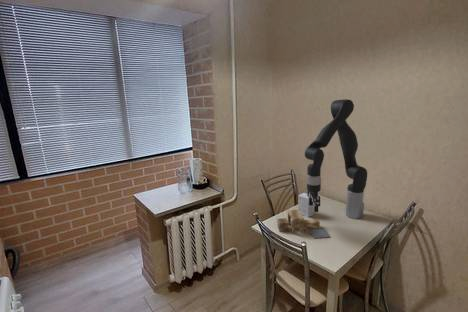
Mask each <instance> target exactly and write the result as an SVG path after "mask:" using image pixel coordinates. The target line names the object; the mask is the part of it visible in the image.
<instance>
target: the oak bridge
mask: <svg viewBox="0 0 468 312" xmlns="http://www.w3.org/2000/svg"><path fill="white" fill-rule="evenodd" d="M287 220H288V222H289V226H291V221H292V228H291V233H292V234H293V235H294V234H295V235H296V230H295V221H301V226H300V230H299V233H300V234H304V233H305V231H304V230H305V229H304V220H305V217H304V215H302V214H301V213H300V211H299V210H298V209H289V210H287Z"/></svg>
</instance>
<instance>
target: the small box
mask: <svg viewBox="0 0 468 312" xmlns="http://www.w3.org/2000/svg"><path fill="white" fill-rule="evenodd" d="M297 200H298V205H297V210H299V211H300V213H301V214H302V216H303V217H307V218H309V217H311V216H313V215H315V214H314V213H315V212H314V203H313V205H311V206H310V205H309V199H308V197H307V193H306V192H303V193H300V194H298V199H297Z"/></svg>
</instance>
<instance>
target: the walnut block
mask: <svg viewBox="0 0 468 312" xmlns="http://www.w3.org/2000/svg"><path fill="white" fill-rule="evenodd" d="M276 225H277V229H278V232H279V233H281V232H289V231H290V230H289V229H290V225H289V222H288V217H284V218H277V223H276Z"/></svg>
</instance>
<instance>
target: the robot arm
mask: <svg viewBox="0 0 468 312" xmlns="http://www.w3.org/2000/svg"><path fill="white" fill-rule="evenodd" d="M354 109H355V105H354V102H353V100H351V99H346V98H345V99H344V98H343V99H335V100H333V101H332V102H331V104H330V112H331V116H332V118H333V119H332V120H331V121H330V122H329V123H327V124H326V125H325V126H324V127H323V128H321V130H320V131H319V133H318V135H317V137H316V138H315V140H313V141H312V142H311V143H310V144H309V145H307V147H306V148H305V151H304V157H305V159H306V160H310V161H312V163H309V164H308V165H307V168H306V169H307V172H306V173H307V174H306V175H307V177H306V190H307V193H306V194H307V197H308V199H309V205H310V206H311V205H313V203H314V213H318V212H319V207H321V195H319V192H320V191H321V189H322V187H321V186H322V183H321V182H322V178H321V171H322V170H321V169H322V165H323V162H324V158H325V152H324V151H323V150H322V149H323V148H326V147H327V146H328V145H329V144H330V141H331V140H332V138H333V137H334V135H335V134H336V132H337V134H338V140H339V144H340V147H341V151H342V156H343V160H344V168H345V174H346V176H347V177H348V178H349V179H351V180H352V183H351V184H348V185H347V188H346V189H347V193H346V205H345V206H346V207H345V216H346V217H347V218H351V219H354V220H355V219H356V220H358V219H361V218H363V217H364V210H365V202H364V196H365V195H364V192H365V189H366V186H367V180H368V170H367V169H366V168H365V167H363V166H360V165H359V164H358V163H357V159H356V153H357V151H358V147H359V144H358V143H359V142H358V138H357V135H356V133H355V131H354V130H353V129H352V128H351V126H350V124H349V123H347V119H348V118H349V117H350V116H351V114H352V113H353V111H354Z"/></svg>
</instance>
